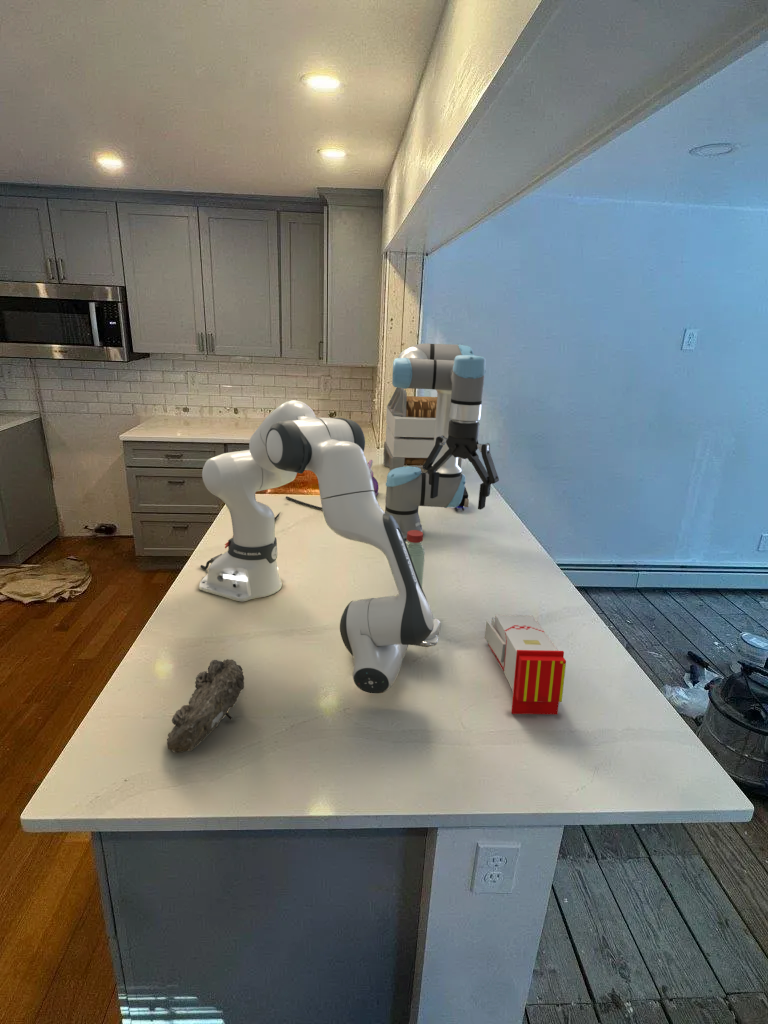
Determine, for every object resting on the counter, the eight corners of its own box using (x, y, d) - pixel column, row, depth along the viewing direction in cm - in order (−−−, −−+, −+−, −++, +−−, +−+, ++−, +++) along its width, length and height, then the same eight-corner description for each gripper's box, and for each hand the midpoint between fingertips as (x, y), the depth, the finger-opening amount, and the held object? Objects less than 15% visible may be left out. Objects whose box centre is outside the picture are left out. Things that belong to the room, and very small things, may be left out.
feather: (287, 506, 225) (290, 502, 224) (270, 530, 198) (272, 526, 198) (283, 504, 225) (286, 500, 224) (265, 527, 198) (268, 523, 197)
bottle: (397, 606, 151) (401, 531, 144) (416, 604, 153) (421, 529, 145) (403, 616, 146) (408, 539, 139) (423, 614, 148) (429, 537, 140)
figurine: (363, 499, 233) (364, 464, 228) (353, 492, 242) (354, 458, 236) (383, 497, 237) (385, 462, 232) (373, 490, 246) (374, 456, 241)
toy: (530, 600, 137) (574, 657, 108) (525, 651, 140) (567, 720, 111) (480, 599, 137) (511, 656, 107) (477, 651, 139) (506, 719, 110)
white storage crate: (382, 463, 289) (386, 382, 275) (445, 464, 293) (451, 384, 279) (390, 482, 257) (394, 392, 243) (460, 483, 261) (468, 394, 247)
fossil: (192, 660, 117) (244, 628, 112) (224, 691, 120) (276, 661, 115) (142, 746, 98) (202, 712, 93) (182, 779, 101) (242, 748, 96)
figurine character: (468, 516, 224) (463, 500, 237) (471, 498, 221) (465, 483, 234) (452, 515, 224) (447, 499, 237) (453, 498, 220) (449, 482, 234)
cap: (404, 537, 144) (405, 530, 143) (419, 536, 145) (420, 529, 144) (409, 543, 140) (409, 536, 140) (425, 542, 141) (425, 535, 141)
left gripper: (437, 634, 121) (445, 604, 133) (345, 619, 125) (362, 591, 138) (435, 659, 123) (443, 627, 136) (344, 643, 127) (361, 613, 140)
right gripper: (518, 425, 136) (508, 509, 143) (427, 412, 149) (422, 489, 156) (506, 429, 130) (496, 516, 137) (413, 415, 143) (408, 496, 150)
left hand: (402, 609), depth 137 cm, fingers open, 8 cm apart
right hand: (457, 502), depth 146 cm, fingers open, 13 cm apart
